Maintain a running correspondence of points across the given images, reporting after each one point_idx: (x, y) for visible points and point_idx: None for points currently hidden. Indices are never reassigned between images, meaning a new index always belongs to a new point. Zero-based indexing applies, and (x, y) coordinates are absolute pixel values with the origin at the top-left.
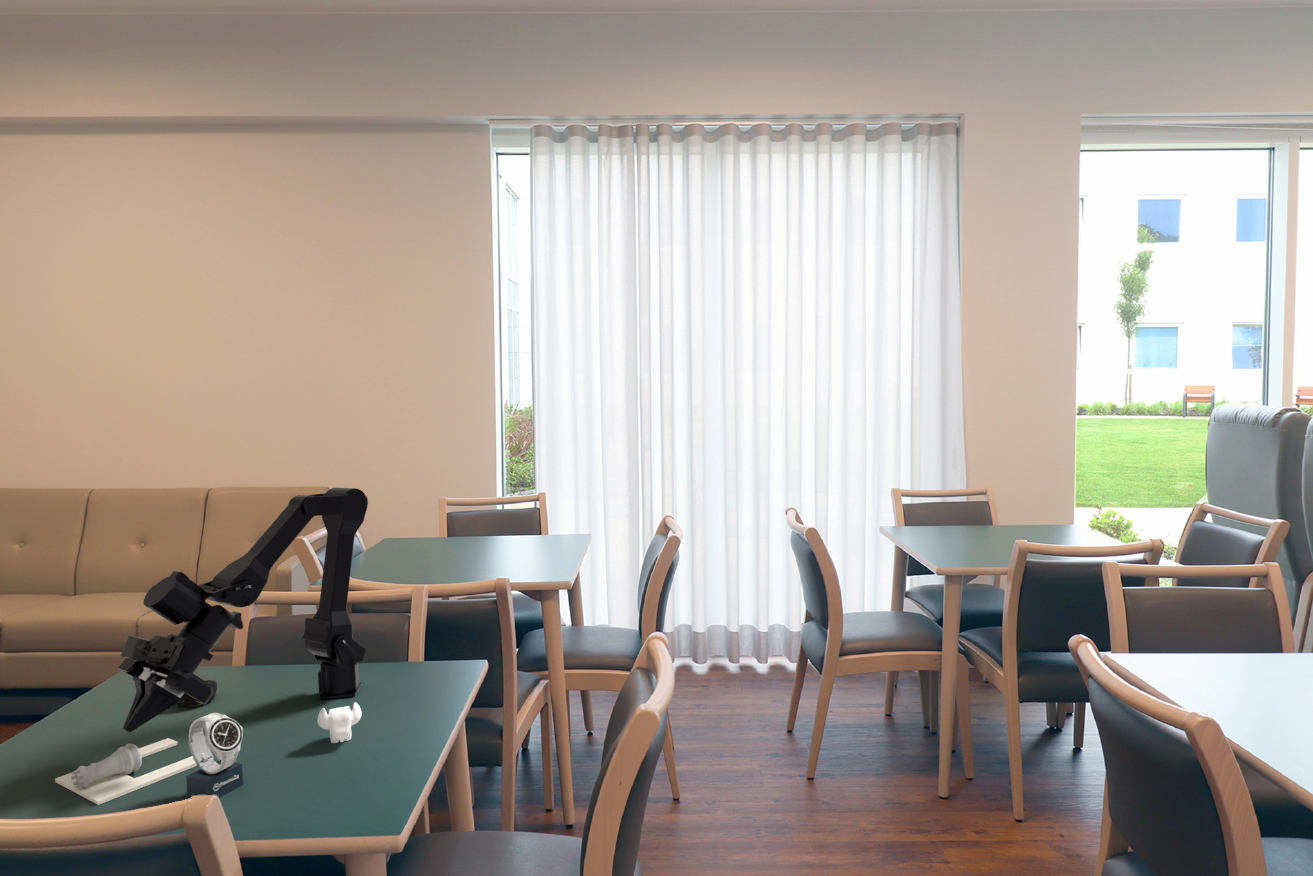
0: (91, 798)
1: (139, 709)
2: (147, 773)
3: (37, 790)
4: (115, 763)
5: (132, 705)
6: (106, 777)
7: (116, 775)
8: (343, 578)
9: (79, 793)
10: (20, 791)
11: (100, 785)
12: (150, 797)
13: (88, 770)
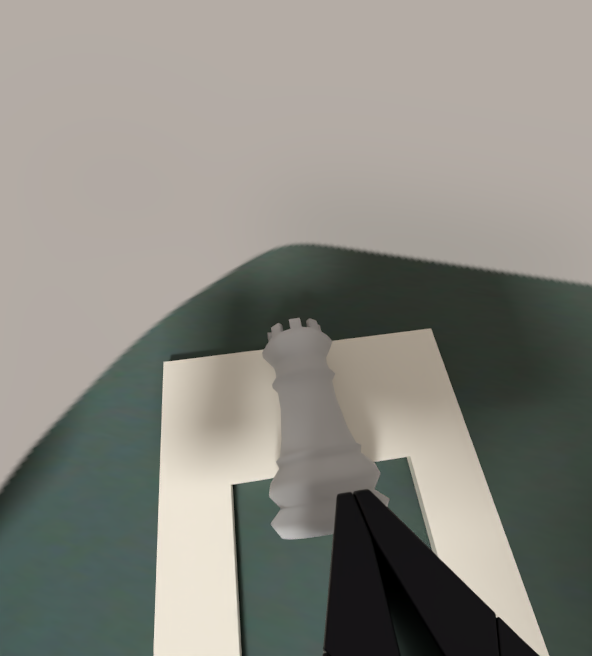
0: (204, 357)
1: (326, 642)
2: (233, 532)
3: (402, 296)
4: (284, 436)
5: (485, 621)
6: None
7: None
8: None
9: None
10: (427, 273)
11: (271, 394)
12: (65, 481)
13: (278, 351)
